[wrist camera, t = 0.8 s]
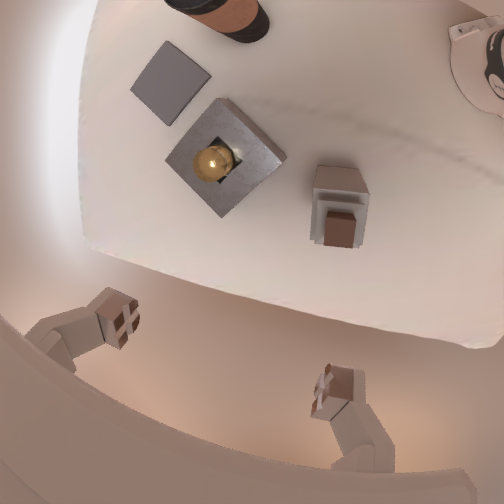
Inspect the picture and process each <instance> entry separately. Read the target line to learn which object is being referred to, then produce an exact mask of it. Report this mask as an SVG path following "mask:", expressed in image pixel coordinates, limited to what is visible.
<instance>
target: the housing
mask: <svg viewBox="0 0 504 504" xmlns="http://www.w3.org/2000/svg"><path fill="white" fill-rule="evenodd" d="M222 142H225V143H226V144H227V145H228V146H229V147H230V148H231V149H232V150H233V151H234V152H235V153H236V154H237V155H238V156H239V157H240V158H241V162H240V164H239V165H238V166H237V167H236V168H235V169H233V170H232V171H230V172H229V173H227V174H226V175H224V176H223V177H221V178H220V179H219V180H217V181H215V182H205V181H203V180H201V179H200V178H198V177H197V175H196V174H195V172H194V169H193V159H194V157H195V155H196V154H197V153H198V152H199V151H201V150H203V149H206V148H208V147H211V146H213V145H216V144H219V143H222ZM286 158H287V156H286V155H285V154H284V153H283V152H282V151H281V150H280V149H279V148H278V147H277V146H276V145H275V144H274V143H273V142H272V141H271V140H270V139H269V138H268V137H267V136H266V135H265V134H264V133H263V132H262V131H261V130H260V129H259V128H258V127H257V126H256V125H255V124H254V123H253V122H252V121H251V120H250V119H249V118H248V117H247V116H246V115H245V114H244V113H243V112H242V111H241V110H240V109H239V108H238V107H237V106H236V105H234V104H233V103H232V102H231V101H230V100H229V99H225V98H216V100H215V101H214V102H213V103H212V104H211V105H210V106H209V107H208V108H207V110H206V111H205V112H204V113H203V114H202V115H201V116H200V118H199V119H198V120H197V121H196V122H195V123H194V125H193V126H192V127H191V128H190V129H189V131H188V132H187V133H186V134H185V136H184V137H183V138H182V139H181V140H180V142H179V143H178V144H177V145H176V147H175V148H174V149H173V151H172V152H171V153H170V154H169V156H168V157H167V158H166V160H165V161H166V162H167V163H168V164H169V165H170V166H171V167H172V168H173V170H174V171H175V172H176V173H177V174H178V175H179V176H180V177H181V178H182V179H183V180H184V181H185V182H186V183H187V184H188V185H189V186H190V187H191V188H192V189H193V190H194V191H195V192H196V193H197V194H198V195H199V196H200V197H201V198H202V199H203V200H204V201H205V202H206V203H207V204H208V205H209V206H210V207H211V208H212V209H213V210H214V211H215V212H216V213H217V214H218V215H219V216H220V217H221V218H223V217H224V216H225V215H226V214H227V213H228V212H229V211H230V210H231V209H232V208H233V207H234V206H235V205H236V204H238V203H239V202H240V201H241V200H242V199H243V198H244V197H245V196H246V195H247V194H248V193H249V192H251V191H252V190H253V189H254V188H255V187H256V186H257V185H258V184H259V183H260V182H262V181H263V180H264V179H265V178H266V177H267V176H268V175H269V174H270V173H272V172H273V171H274V170H275V169H276V168H277V167H278V166H279V165H281V164H282V163H283V162H284V160H285V159H286Z"/></svg>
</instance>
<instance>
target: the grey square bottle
mask: <svg viewBox="0 0 504 504" xmlns="http://www.w3.org/2000/svg"><path fill="white" fill-rule="evenodd" d="M369 195H370V194H369V191H368V189H367V187H366V184H365V182H364V180H363V177H362V175H361V173H360V171H359V169H351V168H341V167H331V166H319V165H318V167H317V172H316V176H315V181H314V186H313V198H312V215H311V231H310V240H315V242H314V244H323V245H325V246H335V247H344V248H359V246H360V245H362V243H363V237H364V231H365V225H366V218H367V211H368V203H369Z"/></svg>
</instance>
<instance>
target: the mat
mask: <svg viewBox="0 0 504 504" xmlns="http://www.w3.org/2000/svg"><path fill="white" fill-rule="evenodd" d="M211 77H212V76H211V75H210V74H208V73H207V72H206V71H205V70H204V69H202V68H201V67H200V66H199V65H198V64H196V63H195V62H194V61H193V60H192V59H190V58H189V57H188V56H187V55H185V54H184V53H183V52H182V51H180V50H179V49H178V48H176V47H175V46H174V45H173V44H171V43H170V42H169V41H165V42H164V44H163V45H162V46H161V47H160V49H159V50H158V51H157V52H156V54H155V55H154V56H153V58H152V59H151V60H150V62H149V63H148V64H147V66H146V67H145V69H144V70H143V71H142V73H141V74H140V76H139V77H138V79H137V80H136V81H135V83H134V84H133V86H132V87H131V89H130V90H131V91H132V92H133V93H134V94H135V95H136V96H137V97H138V98H139V99H140V100H141V101H142V102H143V103H144V104H145V105H146V106H148V107H149V108H150V109H151V110H152V111H153V112H154V113H155V114H156V115H157V116H158V117H159V118H160V119H161V120H162V121H163V122H164V123H165V124H166V125H167V126H171V125H172V123H173V122H174V121H175V119H176V118H177V117H178V116H179V114H180V113H181V112H182V111H183V109H184V108H185V107H186V106H187V105H188V103H189V102H190V101H191V100H192V99H193V97H194V96H195V95H196V94H197V93H198V91H199V90H200V89H201V88H202V87H203V86H204V85H205V83H206V82H207V81H208V80H209V79H210V78H211Z"/></svg>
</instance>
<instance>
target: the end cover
mask: <svg viewBox="0 0 504 504" xmlns="http://www.w3.org/2000/svg"><path fill="white" fill-rule="evenodd" d="M240 162H241V158H240V157H239V156H238V155H237V154H236V153H235V152H234V151H233V150H232V149H231V148H230V147H229V146H228V145H227V144H226V143H225V142H222V143H219V144H216V145H213V146H211V147H208V148H206V149H203V150H201V151H199V152H198V153H197V154H196V155H195V157H194V159H193V169H194V172H195V174H196V175H197V177H198V178H200V179H201V180H203V181H205V182H215V181H217V180H219V179H220V178H221V177H223V176H224V175H226V174H227V173H229V172H230V171H232V170H233V169H235V168H236V167H237V166H238V165H239V164H240Z"/></svg>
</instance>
